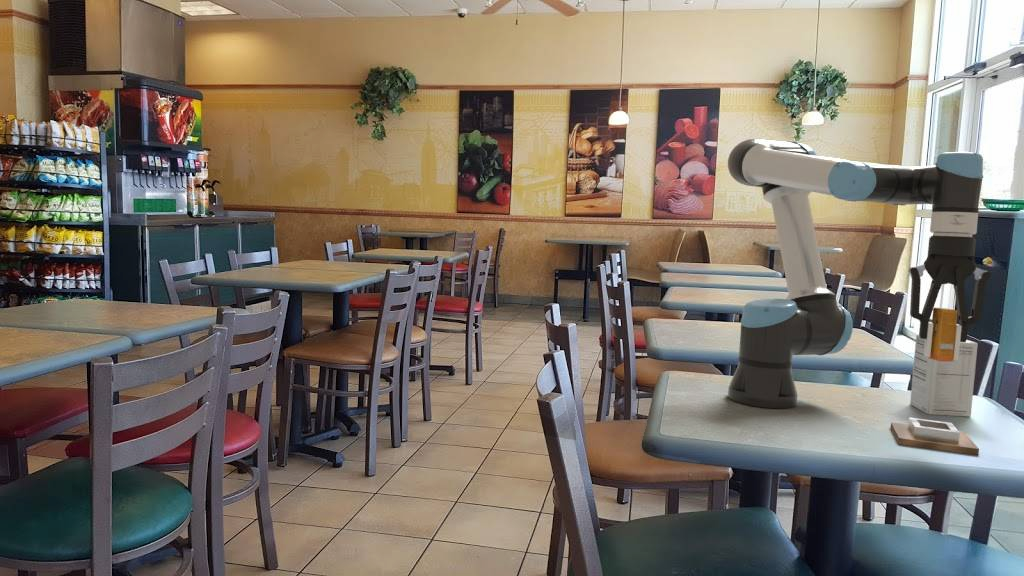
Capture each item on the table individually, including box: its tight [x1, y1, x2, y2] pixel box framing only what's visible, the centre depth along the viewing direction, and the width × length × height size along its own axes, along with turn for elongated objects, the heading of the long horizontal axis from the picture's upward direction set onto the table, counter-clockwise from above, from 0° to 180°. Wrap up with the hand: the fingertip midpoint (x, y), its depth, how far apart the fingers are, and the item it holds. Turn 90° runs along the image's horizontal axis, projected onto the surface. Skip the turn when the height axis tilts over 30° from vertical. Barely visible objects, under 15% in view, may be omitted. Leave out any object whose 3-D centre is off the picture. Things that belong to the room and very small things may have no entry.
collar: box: [908, 417, 960, 443], centre depth 137 cm, size 7×7×2 cm
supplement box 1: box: [928, 307, 958, 362], centre depth 135 cm, size 3×3×10 cm
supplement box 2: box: [909, 334, 979, 417], centre depth 161 cm, size 10×9×17 cm
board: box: [890, 421, 980, 456], centre depth 137 cm, size 13×12×1 cm
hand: (940, 356), depth 135 cm, fingers closed on supplement box 1, 4 cm apart
